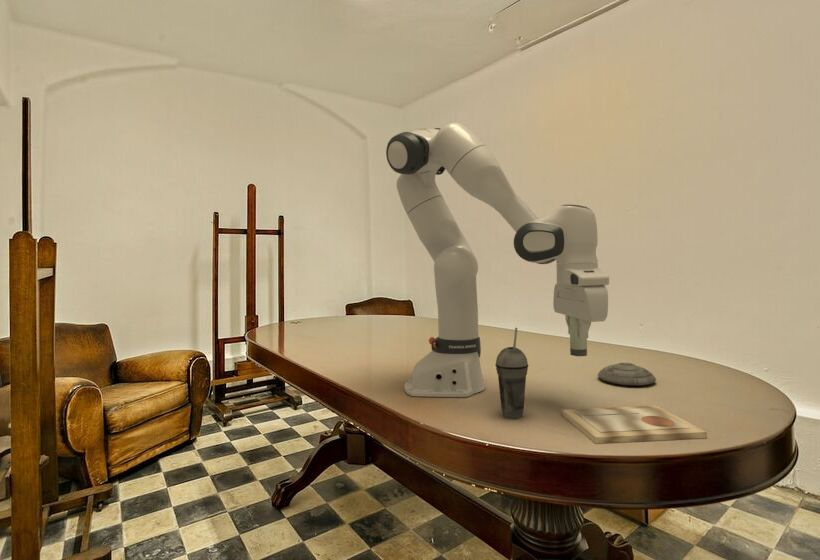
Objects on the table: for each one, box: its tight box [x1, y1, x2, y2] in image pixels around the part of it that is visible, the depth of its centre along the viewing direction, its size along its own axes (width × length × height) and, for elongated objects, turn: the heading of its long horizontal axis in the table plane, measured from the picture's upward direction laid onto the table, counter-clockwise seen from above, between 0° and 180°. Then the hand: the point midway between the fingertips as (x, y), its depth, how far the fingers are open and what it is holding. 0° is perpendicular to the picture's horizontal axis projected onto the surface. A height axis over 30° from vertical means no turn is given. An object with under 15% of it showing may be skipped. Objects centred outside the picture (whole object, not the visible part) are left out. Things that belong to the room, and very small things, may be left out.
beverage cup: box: [495, 327, 529, 420], centre depth 100 cm, size 7×7×20 cm
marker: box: [569, 316, 588, 357], centre depth 102 cm, size 4×4×11 cm
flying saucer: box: [597, 362, 657, 386], centre depth 127 cm, size 15×15×6 cm
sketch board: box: [561, 405, 708, 444], centre depth 93 cm, size 22×16×2 cm
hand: (578, 336), depth 102 cm, fingers closed on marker, 4 cm apart
